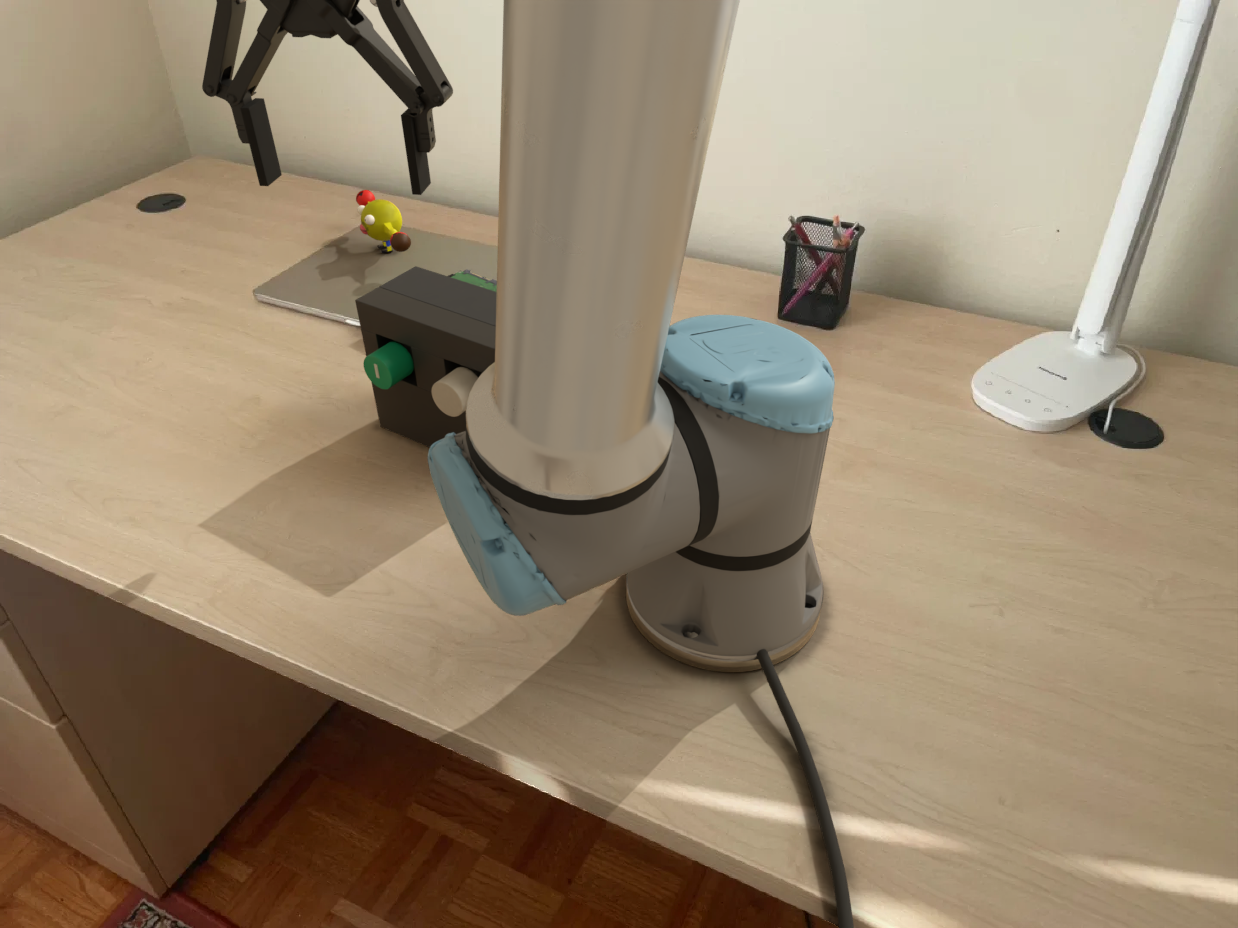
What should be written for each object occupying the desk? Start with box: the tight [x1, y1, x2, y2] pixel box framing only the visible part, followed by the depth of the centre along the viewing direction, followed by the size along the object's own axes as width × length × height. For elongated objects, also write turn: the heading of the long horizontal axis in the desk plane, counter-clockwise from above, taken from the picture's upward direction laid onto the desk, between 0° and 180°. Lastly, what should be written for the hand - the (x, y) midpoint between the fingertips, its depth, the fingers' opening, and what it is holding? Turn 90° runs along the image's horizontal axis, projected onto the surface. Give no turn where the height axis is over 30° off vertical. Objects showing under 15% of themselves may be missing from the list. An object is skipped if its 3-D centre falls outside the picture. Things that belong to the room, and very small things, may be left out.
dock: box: [354, 265, 497, 448], centre depth 85 cm, size 8×16×14 cm, turn 58°
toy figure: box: [355, 189, 412, 254], centre depth 119 cm, size 18×6×7 cm, turn 28°
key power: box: [362, 342, 414, 389], centre depth 82 cm, size 3×3×3 cm
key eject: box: [432, 367, 478, 417], centre depth 79 cm, size 3×3×3 cm
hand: (345, 184), depth 78 cm, fingers open, 13 cm apart
